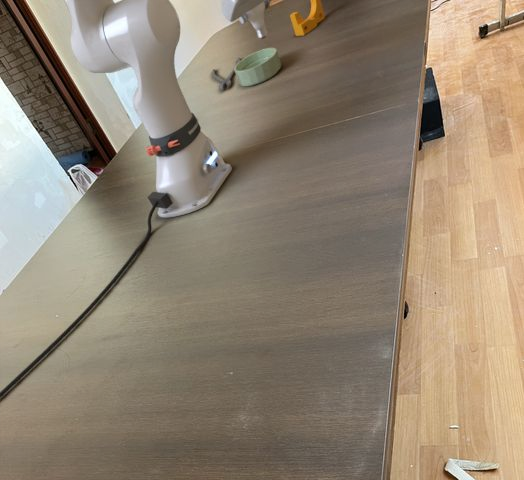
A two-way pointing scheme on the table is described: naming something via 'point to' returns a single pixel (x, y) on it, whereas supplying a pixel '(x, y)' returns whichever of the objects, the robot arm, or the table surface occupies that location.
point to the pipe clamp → (311, 22)
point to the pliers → (227, 80)
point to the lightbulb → (258, 20)
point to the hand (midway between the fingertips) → (253, 13)
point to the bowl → (258, 67)
